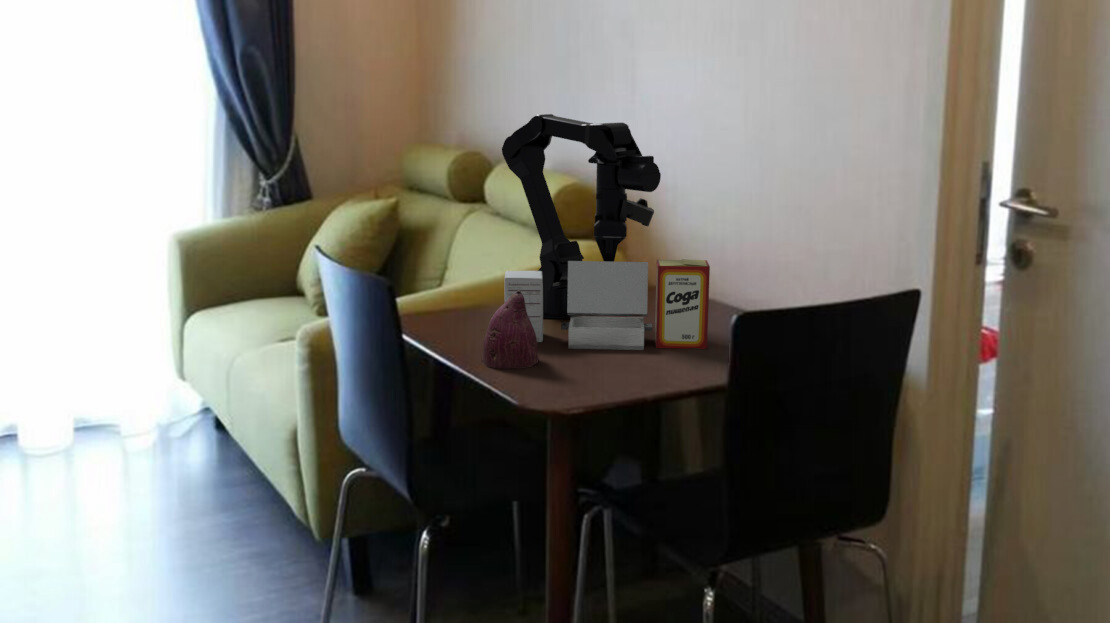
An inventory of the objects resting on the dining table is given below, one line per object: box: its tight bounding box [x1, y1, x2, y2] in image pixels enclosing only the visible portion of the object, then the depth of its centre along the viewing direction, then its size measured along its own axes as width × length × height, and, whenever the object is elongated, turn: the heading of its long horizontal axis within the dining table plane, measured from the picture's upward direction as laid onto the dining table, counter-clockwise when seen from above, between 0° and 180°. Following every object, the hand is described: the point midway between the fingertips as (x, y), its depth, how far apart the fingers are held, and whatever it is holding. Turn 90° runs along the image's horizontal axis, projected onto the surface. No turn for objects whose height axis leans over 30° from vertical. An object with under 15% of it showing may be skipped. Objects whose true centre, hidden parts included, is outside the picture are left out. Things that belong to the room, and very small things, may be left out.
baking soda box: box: [654, 259, 711, 350], centre depth 226 cm, size 10×6×16 cm
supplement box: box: [503, 270, 544, 343], centre depth 231 cm, size 7×7×13 cm
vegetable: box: [481, 290, 539, 370], centre depth 213 cm, size 10×10×15 cm
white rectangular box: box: [560, 315, 653, 351], centre depth 228 cm, size 17×10×4 cm, turn 87°
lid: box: [567, 260, 649, 318], centre depth 233 cm, size 15×10×2 cm
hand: (609, 266), depth 239 cm, fingers open, 8 cm apart
